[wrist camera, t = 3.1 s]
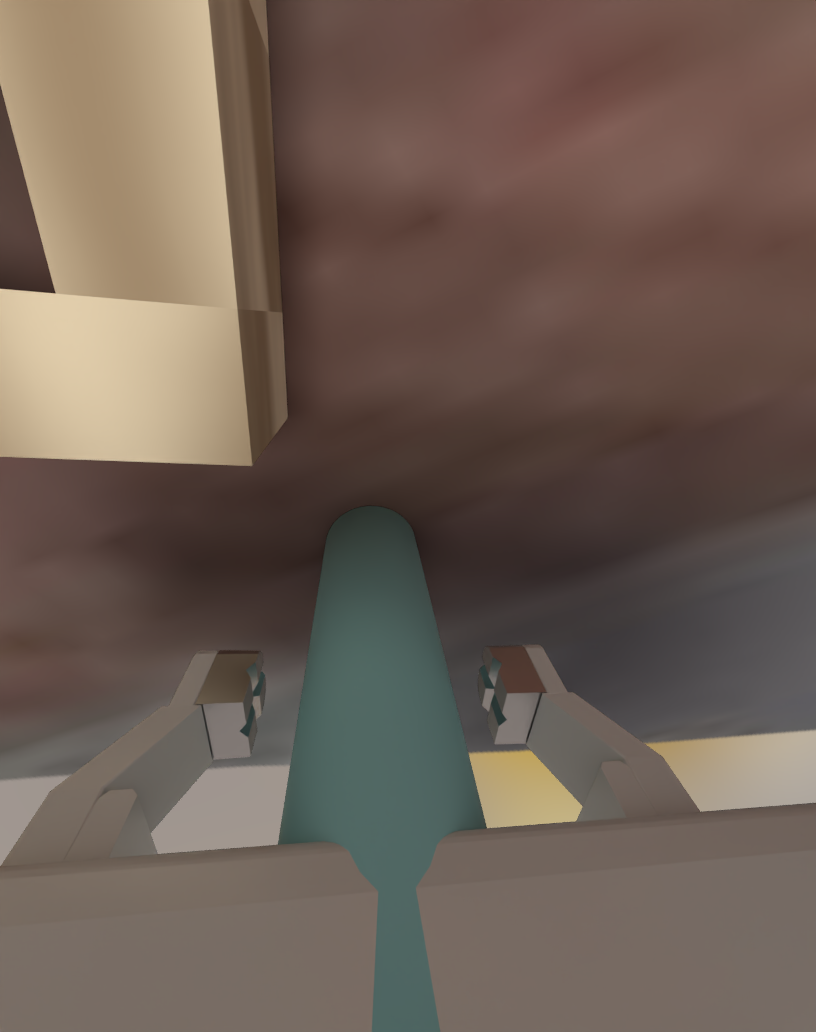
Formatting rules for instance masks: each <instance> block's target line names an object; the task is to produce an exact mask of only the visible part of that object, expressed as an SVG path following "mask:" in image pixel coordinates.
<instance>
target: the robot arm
mask: <svg viewBox="0 0 816 1032" xmlns="http://www.w3.org/2000/svg"><path fill="white" fill-rule="evenodd" d="M482 658H483V661H484V664H485V665H484V666H482V667H481V668H480V669H479V675H478V691H479V697H480V700H481V704H482V706H483V707H484V708H485V709H486V710H488V711H489V713H488V718H487V723H488V726H489V729H490V732H491V735H492V738H493V741H494V744H527V745H526V746H527V747H528V748H529V749H530V750H531V751H532V752H533V753H534V754H535V755H536V756H537V757H538V759H539V760H540V761H541V762H542V763H543V764H544V765H545V766H546V767H547V768H548V769H549V770H550V771H551V773H552V774H553V775H554V776H555V777H556V778H557V779H558V780H559V781H560V782H561V783H562V784H563V785H564V786H565V788H566V789H567V790H568V791H569V792H570V793H571V794H572V795H573V796H574V797H575V798H576V799H577V801H578V802H579V803H580V804H581V805H582V806H583V808H582V810H581V812H580V814H579V816H578V819H577V821H576V822H563V823H551V824H538V825H525V826H512V827H500V828H486V829H473V830H461V831H455V832H452V833H450V834H448V835H447V836H445V837H443V838H442V840H441V841H440V842H439V843H438V844H437V847H436V850H435V853H434V856H433V859H432V862H431V865H430V867H429V868H428V870H427V871H426V873H425V874H424V876H423V878H422V879H421V881H420V882H419V884H418V885H417V887H416V893H417V898H418V904H419V910H420V916H421V922H422V928H423V933H424V939H425V945H426V951H427V957H428V962H429V968H430V974H431V980H432V986H433V992H434V997H435V1003H436V1009H437V1015H438V1021H439V1027H440V1032H816V803H807V804H795V805H782V806H769V807H757V808H744V809H731V810H719V811H718V810H717V811H705V812H700V810H699V809H698V808H697V806H696V805H695V803H694V802H693V800H692V799H691V797H690V796H689V794H688V793H687V792H686V790H685V789H684V787H683V786H682V784H681V783H680V781H679V780H678V778H677V777H676V776H675V774H674V773H673V771H672V770H671V768H670V767H669V765H668V764H667V763H666V761H665V760H664V758H663V757H662V756H661V755H659V754H658V753H656V752H655V751H654V750H652V749H650V747H648V746H647V745H645V744H644V743H643V742H641V741H640V740H639V739H637V738H636V737H634V736H633V735H632V734H630V733H629V732H627V731H626V730H625V729H623V728H622V727H621V726H619V725H618V724H616V723H615V722H614V721H612V720H611V719H609V718H608V717H607V716H605V715H604V714H603V713H601V712H600V711H598V710H597V709H596V708H594V707H593V706H591V705H590V704H589V703H587V702H586V701H585V700H583V699H582V698H580V697H579V696H578V695H576V694H575V693H573V692H567V690H566V688H565V686H564V685H563V683H562V681H561V679H560V678H559V676H558V674H557V672H556V670H555V669H554V667H553V665H552V663H551V662H550V660H549V658H548V656H547V654H546V653H545V651H544V649H543V647H542V646H540V645H539V644H538V645H521V646H520V645H509V646H486V647H485V648H484V650H483V655H482ZM263 663H264V660H263V653H262V651H248V650H220V651H198V652H197V653H196V654H195V655H194V656H193V658H192V660H191V662H190V664H189V666H188V668H187V670H186V672H185V674H184V676H183V678H182V680H181V682H180V684H179V686H178V688H177V690H176V692H175V694H174V696H173V698H172V700H171V702H170V704H169V706H162V707H160V708H159V709H158V710H157V711H155V712H154V713H153V714H151V715H150V716H149V717H147V718H146V719H145V720H143V721H142V722H141V723H139V724H138V725H137V726H136V727H134V728H133V729H132V730H130V731H129V732H128V733H126V734H125V735H124V736H122V737H121V738H120V739H118V740H117V741H116V742H114V743H113V744H112V745H111V746H109V747H108V748H107V749H105V750H104V751H103V752H101V753H100V754H99V755H97V756H96V757H95V758H93V759H92V760H91V761H89V762H88V763H87V764H86V765H84V766H83V767H82V768H80V769H79V770H78V771H76V772H75V773H74V774H72V775H71V776H70V777H68V778H67V779H66V780H65V781H63V782H62V783H61V784H59V785H58V786H57V787H55V788H54V789H53V790H51V791H50V792H49V794H48V796H47V797H46V799H45V800H44V801H43V803H42V805H41V806H40V808H39V809H38V811H37V812H36V814H35V815H34V817H33V818H32V820H31V821H30V823H29V824H28V826H27V827H26V829H25V830H24V832H23V833H22V835H21V836H20V838H19V839H18V841H17V842H16V844H15V845H14V847H13V849H12V850H11V851H10V853H9V854H8V856H7V857H6V859H5V860H4V862H3V863H2V865H1V866H0V1032H372V1015H373V993H374V972H375V950H376V929H377V908H378V891H377V890H376V889H375V887H374V886H373V885H372V884H371V883H370V882H369V881H368V880H367V879H366V878H365V877H364V876H363V875H362V874H361V873H360V871H359V869H358V868H357V866H356V864H355V862H354V860H353V858H352V856H351V854H350V852H349V851H348V850H346V849H345V848H344V847H342V846H341V845H339V844H336V843H333V842H325V841H320V842H308V843H295V844H282V845H269V846H257V847H243V848H230V849H218V850H205V851H192V852H179V853H167V854H157V850H156V848H155V845H154V842H153V839H152V836H151V832H152V831H153V830H154V829H155V828H156V826H157V825H158V824H159V823H160V822H161V821H162V820H163V818H164V817H165V816H166V815H167V814H168V813H169V812H170V810H171V809H172V808H173V807H174V806H175V805H176V804H177V802H178V801H179V800H180V799H181V798H182V797H183V795H184V794H185V793H186V792H187V791H188V790H189V788H190V787H191V786H192V785H193V784H194V783H195V782H196V781H197V779H198V778H199V777H200V776H201V775H202V774H203V772H204V771H205V770H206V769H207V768H208V767H209V766H210V764H211V763H212V762H213V761H212V760H213V759H226V758H239V757H251V753H252V750H253V746H254V742H255V738H256V734H257V722H256V719H257V718H258V717H259V716H260V715H261V714H262V710H263V706H264V700H265V692H266V679H265V674H264V673H263V672H261V670H262V666H263Z"/></svg>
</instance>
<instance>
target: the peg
mask: <svg viewBox="0 0 816 1032" xmlns="http://www.w3.org/2000/svg"><path fill="white" fill-rule="evenodd" d="M486 828H487V827H486V823H485V819H484V815H483V811H482V807H481V803H480V799H479V795H478V791H477V786H476V783H475V778H474V774H473V770H472V766H471V763H470V759H469V754H468V750H467V746H466V742H465V738H464V734H463V730H462V726H461V722H460V718H459V714H458V710H457V706H456V702H455V697H454V693H453V689H452V685H451V681H450V677H449V673H448V669H447V665H446V661H445V657H444V653H443V649H442V645H441V641H440V637H439V633H438V629H437V625H436V621H435V617H434V613H433V608H432V604H431V600H430V596H429V592H428V588H427V584H426V580H425V576H424V572H423V568H422V564H421V560H420V556H419V552H418V548H417V544H416V540H415V536H414V532H413V530H412V528H411V526H410V525H409V523H408V522H407V521H406V520H405V519H404V518H403V517H402V516H401V515H399V514H398V513H396V512H395V511H393V510H390V509H387V508H384V507H379V506H364V507H359V508H355V509H353V510H350V511H348V512H346V513H345V514H343V515H342V516H340V517H339V518H338V519H337V520H336V521H335V522H334V524H333V525H332V526H331V528H330V530H329V532H328V535H327V538H326V544H325V550H324V556H323V563H322V569H321V575H320V581H319V588H318V594H317V600H316V607H315V613H314V619H313V626H312V632H311V638H310V645H309V651H308V657H307V664H306V670H305V676H304V683H303V689H302V695H301V701H300V708H299V714H298V720H297V727H296V733H295V739H294V746H293V752H292V758H291V765H290V771H289V778H288V784H287V790H286V796H285V802H284V809H283V816H282V822H281V828H280V835H279V841H278V845H282V844H295V843H308V842H320V841H325V842H333V843H336V844H339V845H341V846H342V847H344V848H345V849H346V850H348V851H349V852H350V854H351V856H352V858H353V860H354V862H355V864H356V866H357V868H358V869H359V871H360V873H361V874H362V875H363V876H364V877H365V878H366V879H367V880H368V881H369V882H370V883H371V884H372V885H373V886H374V887H375V889H376V890H377V891H378V908H377V929H376V950H375V972H374V993H373V1015H372V1032H440V1027H439V1021H438V1015H437V1009H436V1003H435V997H434V992H433V986H432V980H431V974H430V968H429V962H428V957H427V951H426V945H425V939H424V933H423V928H422V922H421V916H420V910H419V904H418V898H417V893H416V887H417V885H418V884H419V882H420V881H421V879H422V878H423V876H424V874H425V873H426V871H427V870H428V868H429V867H430V865H431V862H432V859H433V856H434V853H435V850H436V847H437V844H438V843H439V842H440V841H441V840H442V838H443V837H445V836H447V835H448V834H450V833H452V832H455V831H461V830H473V829H486Z"/></svg>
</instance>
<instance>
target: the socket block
mask: <svg viewBox="0 0 816 1032" xmlns="http://www.w3.org/2000/svg"><path fill="white" fill-rule="evenodd" d="M0 85H1V89H2V92H3V96H4V100H5V104H6V108H7V111H8V115H9V119H10V123H11V127H12V130H13V134H14V138H15V142H16V145H17V149H18V153H19V157H20V161H21V164H22V168H23V172H24V176H25V179H26V183H27V187H28V191H29V195H30V198H31V202H32V206H33V210H34V214H35V217H36V221H37V225H38V229H39V232H40V236H41V240H42V244H43V248H44V251H45V255H46V259H47V263H48V267H49V270H50V274H51V278H52V282H53V285H54V289H55V293H46V292H34V291H22V290H10V289H0V457H26V458H53V459H79V460H106V461H133V462H160V463H186V464H213V465H240V466H253V464H254V463H255V462H256V460H257V459H258V458H259V456H260V455H261V453H262V452H263V451H264V449H265V448H266V447H267V445H268V444H269V443H270V441H271V440H272V439H273V437H274V436H275V435H276V433H277V432H278V430H279V429H280V428H281V426H282V425H283V424H284V422H285V421H286V420H287V418H288V412H287V393H286V374H285V354H284V335H283V316H282V297H281V278H280V258H279V239H278V220H277V201H276V182H275V163H274V143H273V124H272V105H271V86H270V67H269V48H268V28H267V9H266V0H0Z"/></svg>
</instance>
